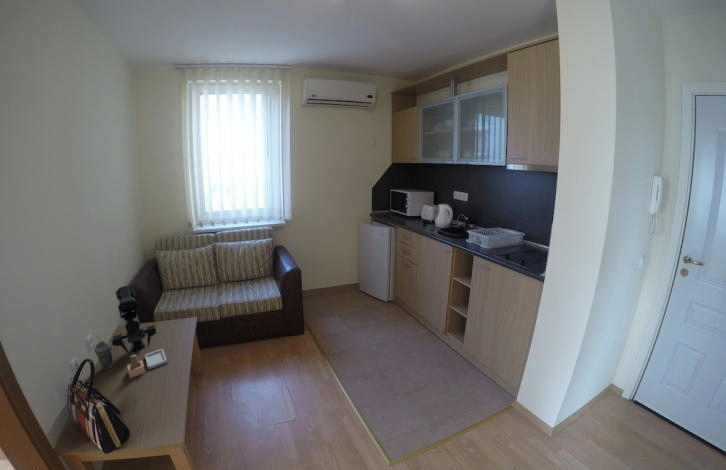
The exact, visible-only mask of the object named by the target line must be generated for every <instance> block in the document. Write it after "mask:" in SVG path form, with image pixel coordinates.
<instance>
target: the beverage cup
mask: <svg viewBox="0 0 726 470" xmlns="http://www.w3.org/2000/svg"><path fill="white" fill-rule="evenodd" d="M96 337H97V339H98V343H97V344H96V345H95V346H94V353H95V355H96V357H97V359H98V361H99V363H100V365H101V368H102V369H103V370H110V369H111V368H112V367H113V366H114V362H113V361H114V360H113V353H112V344H110V342H108V341H101V339H100V337H99V334H97V336H96Z"/></svg>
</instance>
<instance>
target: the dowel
mask: <svg viewBox="0 0 726 470" xmlns="http://www.w3.org/2000/svg"><path fill="white" fill-rule="evenodd" d="M129 360H130V364H132V368H133V369H134V368H137V367H139V363H138V361H139V359H138V356H137V354H132V355H131V356H129Z"/></svg>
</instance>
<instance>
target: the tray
mask: <svg viewBox="0 0 726 470" xmlns="http://www.w3.org/2000/svg"><path fill="white" fill-rule="evenodd" d="M144 358H145V360H146V361H145V362H146V366H147V370H152V369H154V368H155V369H156V368H157V367H159V366H163V365H166V364H168V360H167V357H166V354H165V351H164V348H160V349H158V350H154V351H152V352H149V353H146V354H144Z"/></svg>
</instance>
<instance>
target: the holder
mask: <svg viewBox="0 0 726 470" xmlns="http://www.w3.org/2000/svg"><path fill="white" fill-rule="evenodd" d="M138 363H139V367H137V368H134V369H133V368H132V364H131V363H130V364H128V365H127V372H128V377H129V379H132V378H134V377H136V376H137V377H138V376H139V375H143V374H145V373H146V369H145V365H144V362H143V359H141V360H138Z"/></svg>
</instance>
